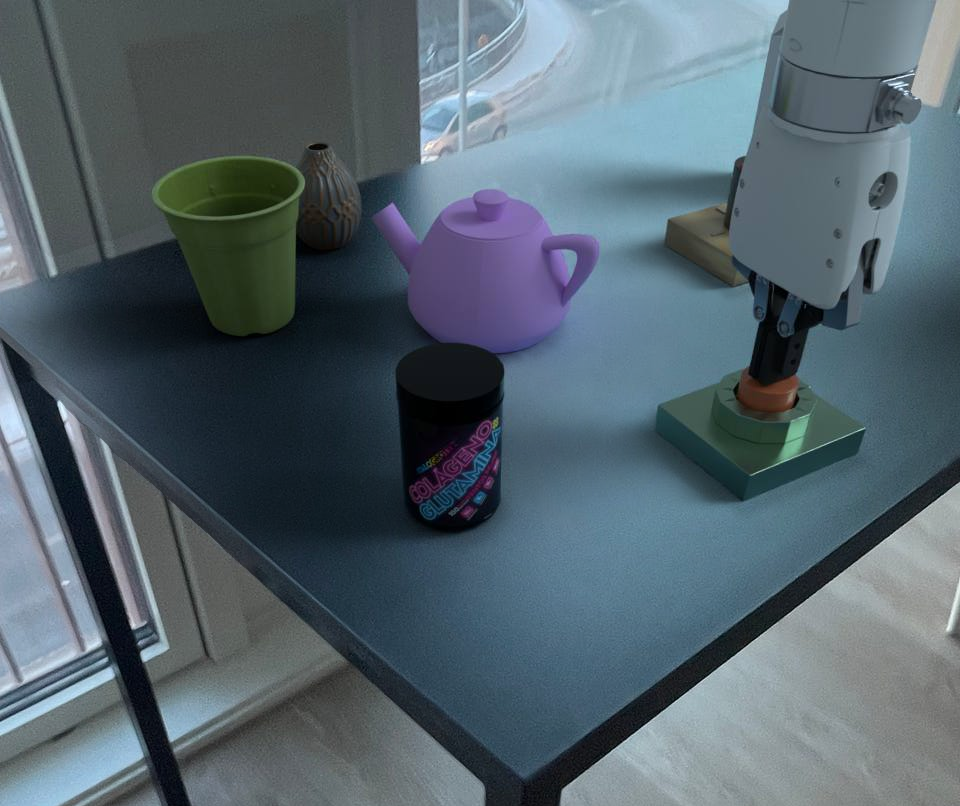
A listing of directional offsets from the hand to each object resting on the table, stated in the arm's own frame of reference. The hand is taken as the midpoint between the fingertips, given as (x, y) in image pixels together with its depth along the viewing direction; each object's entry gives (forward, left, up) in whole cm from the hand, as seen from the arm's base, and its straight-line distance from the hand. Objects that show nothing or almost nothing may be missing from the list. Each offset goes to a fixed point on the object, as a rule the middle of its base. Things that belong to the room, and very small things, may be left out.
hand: (772, 375), depth 71 cm
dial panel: (-20, -24, -6) cm, 32 cm away
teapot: (+8, -26, -6) cm, 28 cm away
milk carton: (-33, -33, -6) cm, 47 cm away
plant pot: (+25, -36, -6) cm, 44 cm away
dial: (-20, -24, -3) cm, 31 cm away
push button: (0, 0, -2) cm, 2 cm away
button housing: (0, 0, -6) cm, 6 cm away
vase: (+13, -46, -6) cm, 48 cm away
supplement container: (+23, -5, -6) cm, 24 cm away
